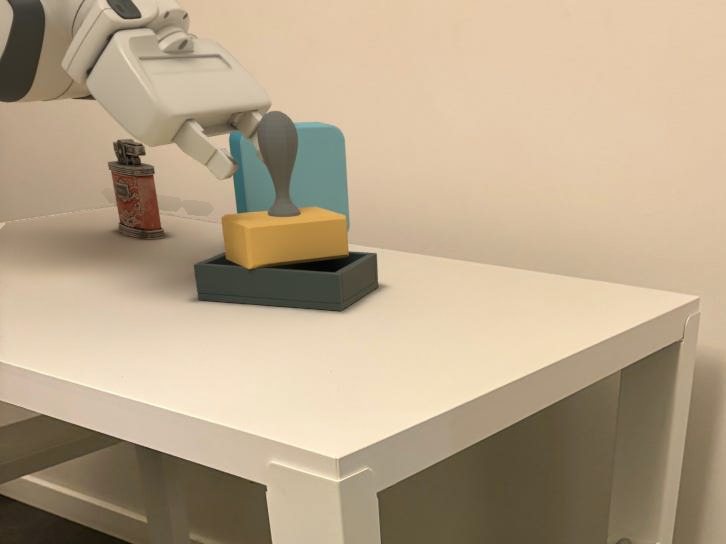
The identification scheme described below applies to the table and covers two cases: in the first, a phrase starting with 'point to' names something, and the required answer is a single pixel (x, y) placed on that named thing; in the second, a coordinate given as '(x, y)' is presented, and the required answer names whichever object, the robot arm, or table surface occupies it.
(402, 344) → the table surface
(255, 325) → the table surface
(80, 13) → the robot arm
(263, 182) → the teal rounded flat block
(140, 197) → the lighter
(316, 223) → the rubber stamp
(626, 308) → the table surface
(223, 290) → the holder
